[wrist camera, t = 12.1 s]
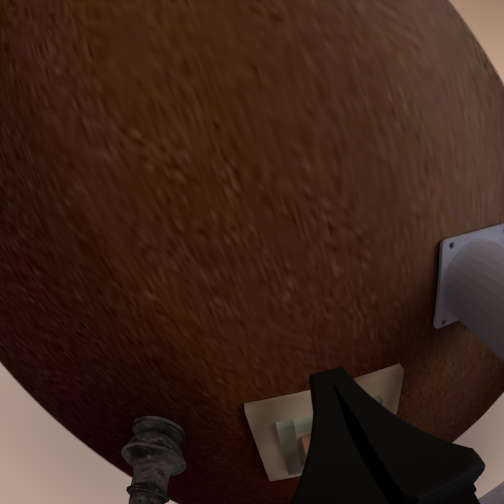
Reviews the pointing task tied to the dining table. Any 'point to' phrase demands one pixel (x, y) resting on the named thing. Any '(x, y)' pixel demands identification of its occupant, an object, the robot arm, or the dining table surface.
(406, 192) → the dining table surface
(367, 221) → the dining table surface
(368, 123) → the dining table surface
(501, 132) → the dining table surface
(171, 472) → the dark grey chess piece
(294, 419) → the pocket board
